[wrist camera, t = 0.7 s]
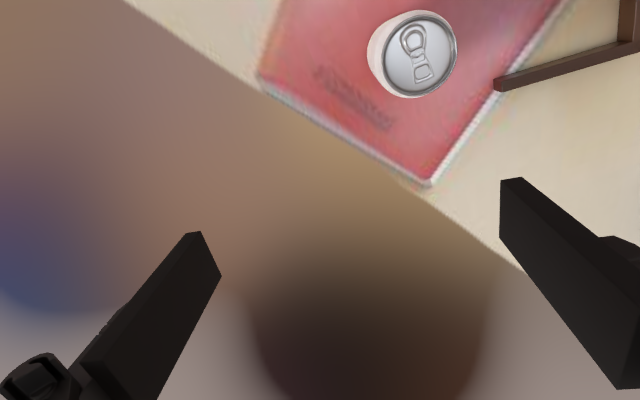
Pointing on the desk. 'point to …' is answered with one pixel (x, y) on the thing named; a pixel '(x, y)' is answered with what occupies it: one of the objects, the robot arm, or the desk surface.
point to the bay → (583, 53)
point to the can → (413, 53)
